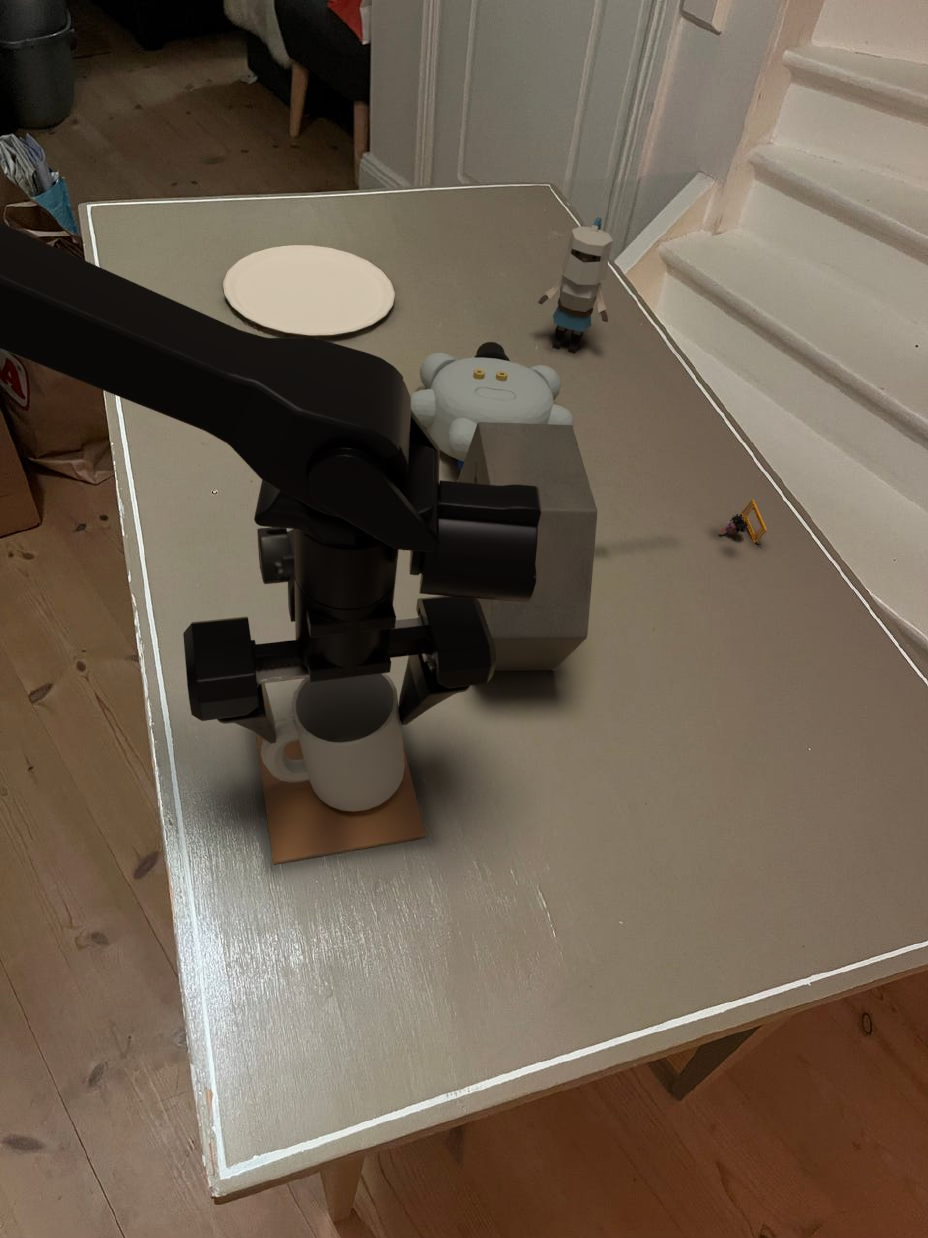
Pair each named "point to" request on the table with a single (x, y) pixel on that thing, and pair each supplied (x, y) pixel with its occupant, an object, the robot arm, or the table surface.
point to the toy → (580, 283)
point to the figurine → (483, 396)
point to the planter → (541, 540)
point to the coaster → (332, 817)
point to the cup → (342, 741)
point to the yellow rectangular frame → (738, 523)
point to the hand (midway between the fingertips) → (338, 728)
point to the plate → (308, 291)
